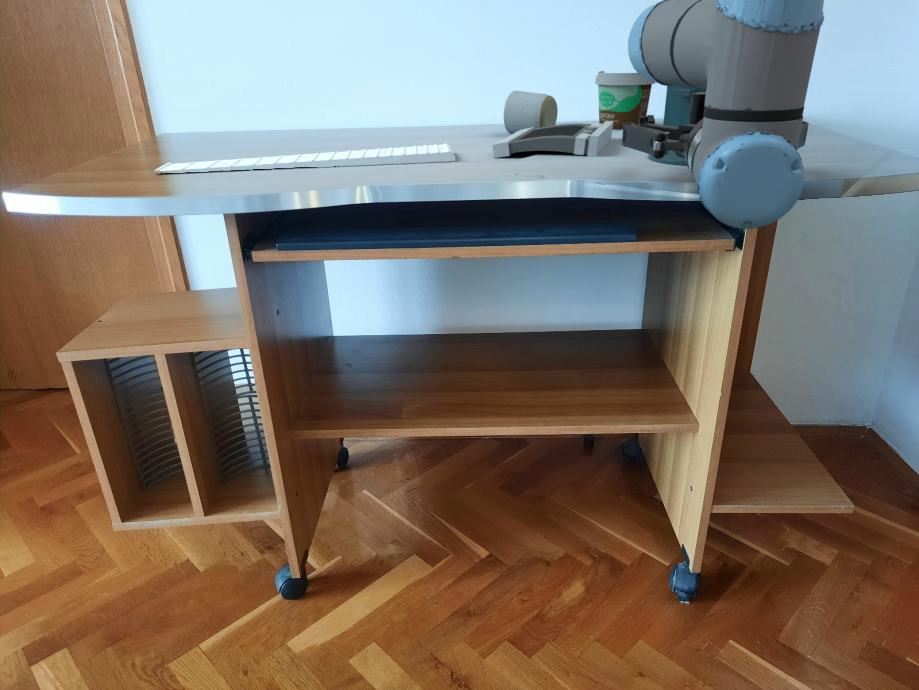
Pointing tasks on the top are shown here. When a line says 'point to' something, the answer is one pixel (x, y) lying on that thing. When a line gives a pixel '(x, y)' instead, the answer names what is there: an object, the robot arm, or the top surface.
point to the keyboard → (326, 159)
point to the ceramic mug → (529, 111)
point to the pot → (678, 105)
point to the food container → (622, 97)
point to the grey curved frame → (557, 139)
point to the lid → (694, 118)
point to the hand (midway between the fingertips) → (704, 125)
